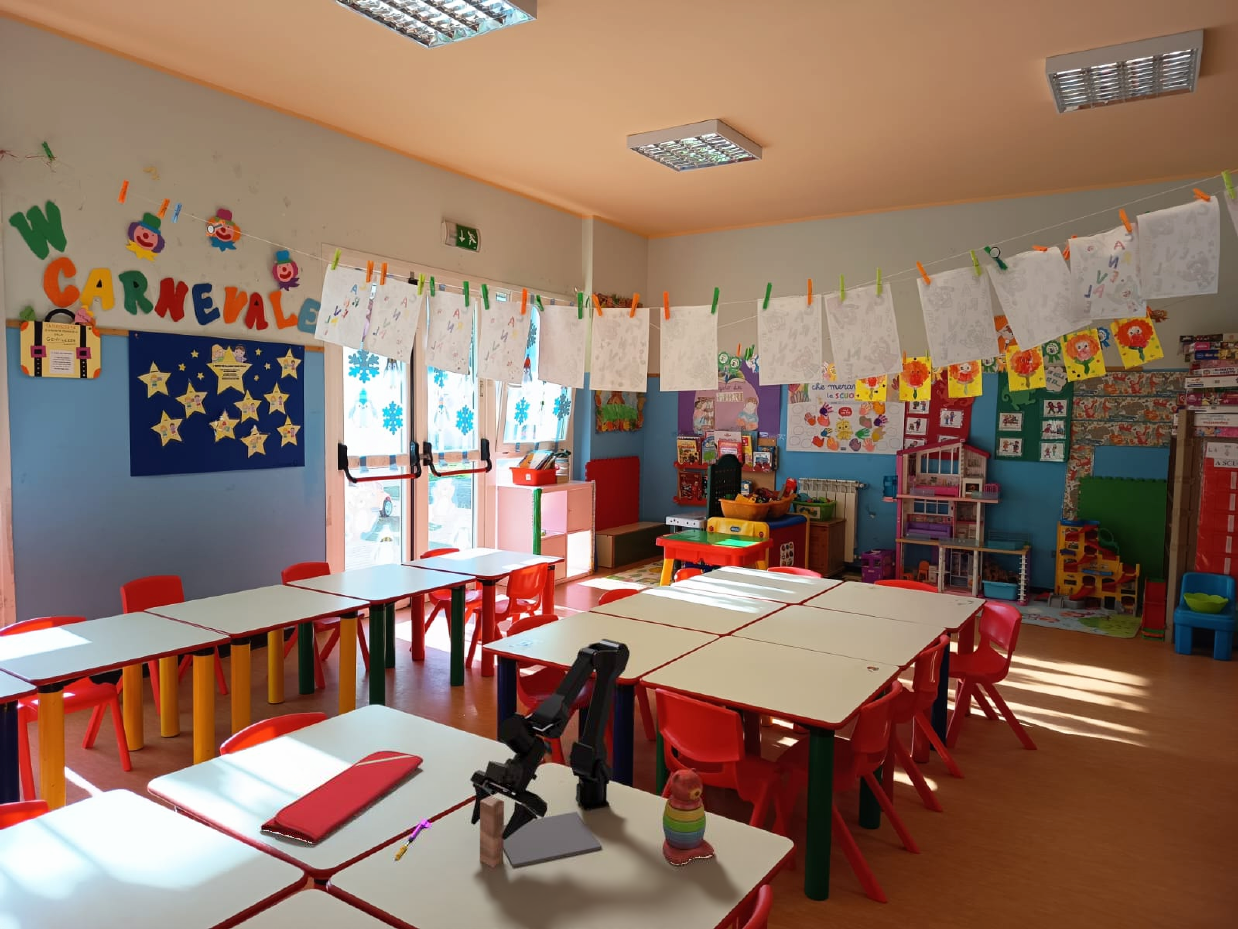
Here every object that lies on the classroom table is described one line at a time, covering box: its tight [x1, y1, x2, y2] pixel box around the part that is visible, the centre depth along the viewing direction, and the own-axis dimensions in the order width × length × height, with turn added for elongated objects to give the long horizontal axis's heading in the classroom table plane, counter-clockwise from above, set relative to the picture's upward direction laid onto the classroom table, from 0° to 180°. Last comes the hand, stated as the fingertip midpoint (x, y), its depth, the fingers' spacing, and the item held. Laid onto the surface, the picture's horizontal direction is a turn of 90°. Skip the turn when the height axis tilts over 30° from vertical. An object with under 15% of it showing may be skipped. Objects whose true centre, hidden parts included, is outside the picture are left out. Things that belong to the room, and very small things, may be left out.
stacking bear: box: [662, 767, 715, 865], centre depth 179 cm, size 11×10×18 cm
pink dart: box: [394, 818, 433, 861], centre depth 182 cm, size 3×1×16 cm
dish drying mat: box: [260, 750, 424, 844], centre depth 200 cm, size 16×41×4 cm, turn 159°
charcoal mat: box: [503, 811, 603, 868], centre depth 183 cm, size 20×16×1 cm
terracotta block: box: [479, 795, 505, 868], centre depth 174 cm, size 3×4×13 cm
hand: (487, 831), depth 173 cm, fingers open, 9 cm apart
